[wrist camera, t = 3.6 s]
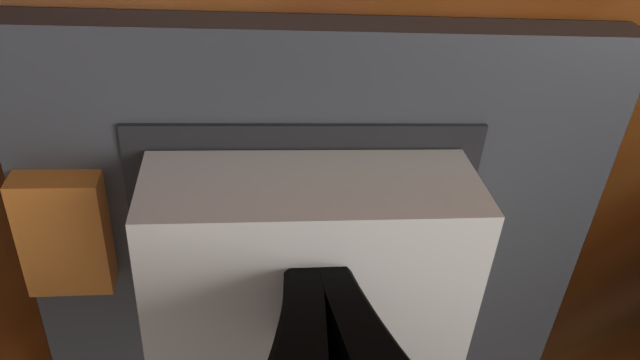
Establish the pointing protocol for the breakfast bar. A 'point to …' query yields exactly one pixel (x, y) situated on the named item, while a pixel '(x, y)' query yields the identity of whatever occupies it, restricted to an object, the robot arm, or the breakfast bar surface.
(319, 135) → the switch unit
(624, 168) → the breakfast bar surface
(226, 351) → the button
